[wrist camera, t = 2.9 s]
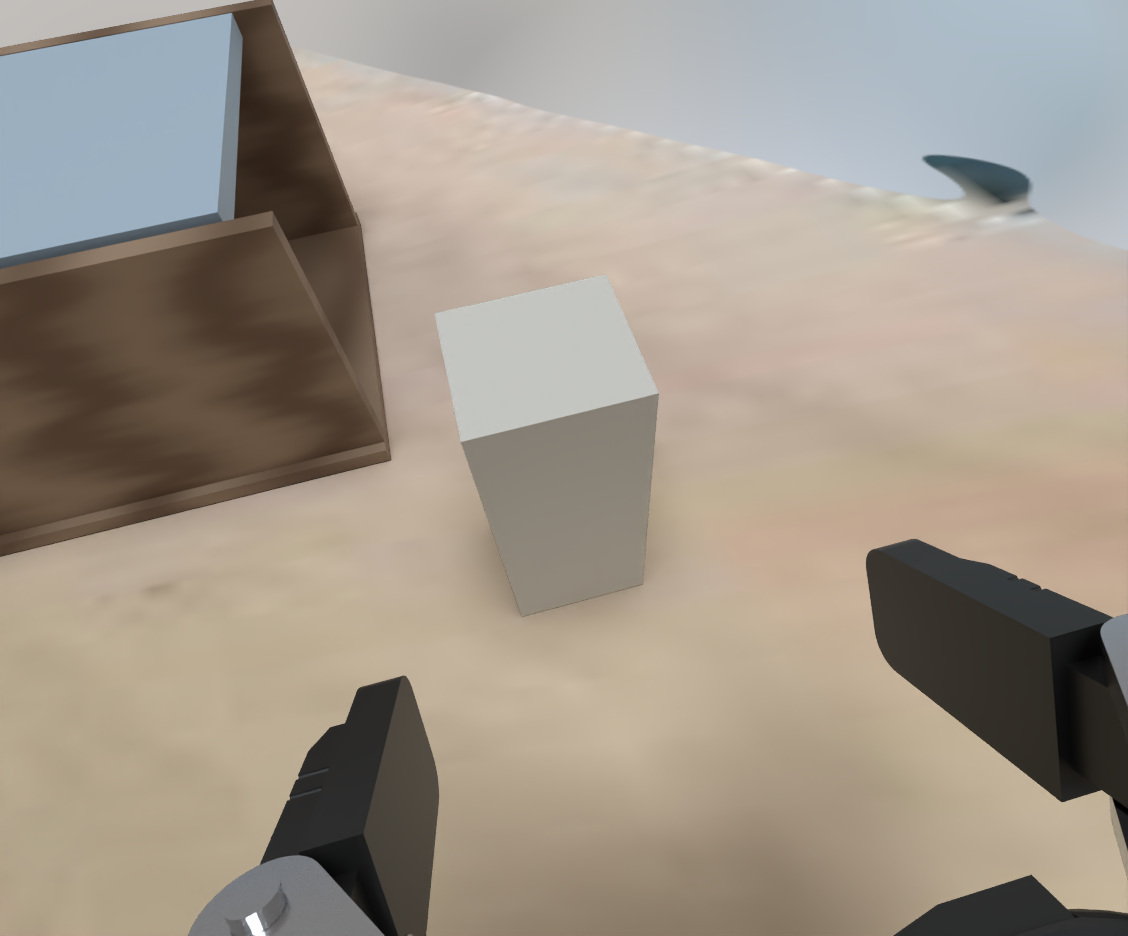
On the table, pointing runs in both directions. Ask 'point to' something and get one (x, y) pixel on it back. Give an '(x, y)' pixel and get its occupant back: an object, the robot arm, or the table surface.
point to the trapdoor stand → (195, 335)
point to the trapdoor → (118, 138)
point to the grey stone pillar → (556, 436)
